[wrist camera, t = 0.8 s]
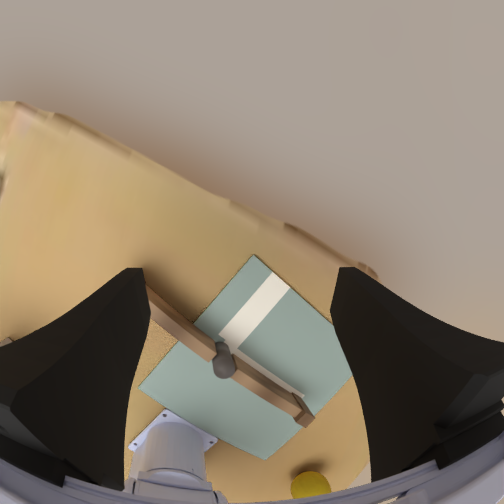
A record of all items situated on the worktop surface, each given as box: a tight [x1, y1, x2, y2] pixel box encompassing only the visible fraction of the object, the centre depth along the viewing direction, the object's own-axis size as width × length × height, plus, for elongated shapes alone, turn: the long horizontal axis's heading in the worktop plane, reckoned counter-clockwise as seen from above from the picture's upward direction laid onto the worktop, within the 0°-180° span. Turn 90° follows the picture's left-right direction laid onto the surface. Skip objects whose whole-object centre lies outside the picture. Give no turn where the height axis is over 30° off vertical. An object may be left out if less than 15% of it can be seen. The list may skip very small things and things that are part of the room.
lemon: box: [291, 471, 331, 499], centre depth 29 cm, size 6×6×8 cm
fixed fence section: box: [212, 342, 315, 428], centre depth 28 cm, size 13×2×5 cm, turn 48°
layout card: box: [138, 255, 352, 460], centre depth 30 cm, size 20×20×1 cm
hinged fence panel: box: [145, 282, 217, 363], centre depth 25 cm, size 11×2×4 cm, turn 48°
